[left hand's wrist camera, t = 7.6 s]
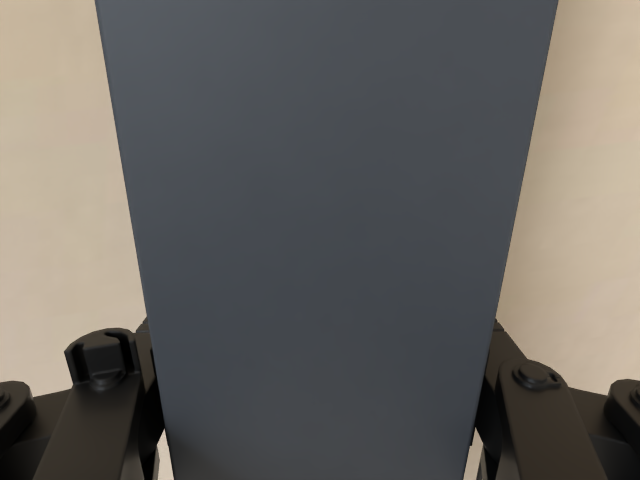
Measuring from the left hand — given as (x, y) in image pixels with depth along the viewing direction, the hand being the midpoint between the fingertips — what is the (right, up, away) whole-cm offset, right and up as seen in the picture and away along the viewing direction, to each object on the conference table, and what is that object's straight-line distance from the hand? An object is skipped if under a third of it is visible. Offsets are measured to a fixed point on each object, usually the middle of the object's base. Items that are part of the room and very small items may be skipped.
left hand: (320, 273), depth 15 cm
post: (0, +19, -6) cm, 20 cm away
